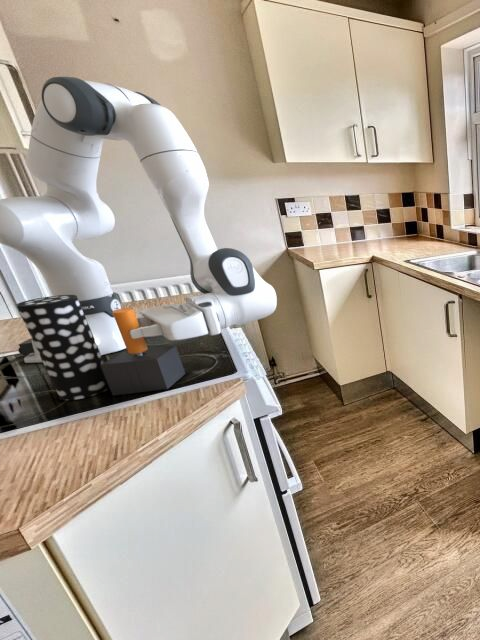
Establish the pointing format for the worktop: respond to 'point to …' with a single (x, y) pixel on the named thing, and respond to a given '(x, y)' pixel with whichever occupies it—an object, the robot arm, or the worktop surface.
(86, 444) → the worktop surface
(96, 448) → the worktop surface
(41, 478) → the worktop surface
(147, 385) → the holder
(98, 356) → the spotted tube
